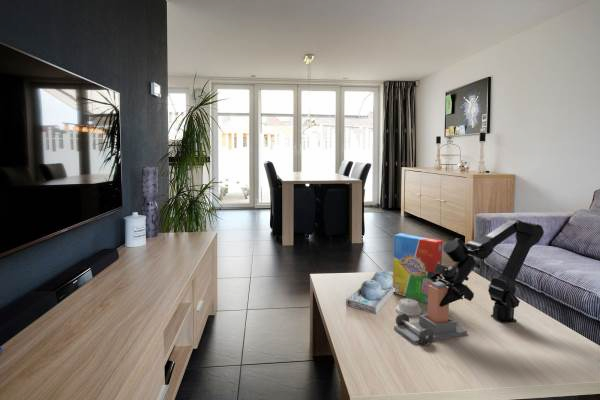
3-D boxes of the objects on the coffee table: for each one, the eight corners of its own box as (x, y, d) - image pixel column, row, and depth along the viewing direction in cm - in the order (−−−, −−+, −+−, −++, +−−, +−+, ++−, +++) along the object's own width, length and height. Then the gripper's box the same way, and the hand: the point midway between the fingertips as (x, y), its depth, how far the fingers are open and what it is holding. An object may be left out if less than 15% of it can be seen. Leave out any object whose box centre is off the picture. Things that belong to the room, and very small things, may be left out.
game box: (391, 292, 178) (393, 234, 175) (398, 290, 182) (400, 232, 179) (434, 305, 163) (436, 241, 160) (440, 302, 166) (443, 239, 163)
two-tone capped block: (438, 318, 143) (440, 280, 141) (448, 323, 138) (449, 284, 136) (427, 320, 141) (428, 282, 139) (436, 325, 136) (437, 286, 135)
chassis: (441, 319, 149) (442, 306, 149) (470, 335, 135) (470, 322, 135) (391, 327, 142) (392, 314, 142) (416, 346, 128) (417, 331, 128)
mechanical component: (396, 315, 153) (422, 317, 151) (396, 304, 153) (422, 306, 151) (395, 306, 163) (420, 308, 161) (395, 296, 163) (420, 297, 161)
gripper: (432, 249, 147) (406, 281, 144) (468, 262, 129) (439, 299, 127) (448, 268, 150) (423, 299, 148) (486, 282, 133) (458, 318, 130)
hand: (435, 303), depth 138 cm, fingers closed on two-tone capped block, 5 cm apart
